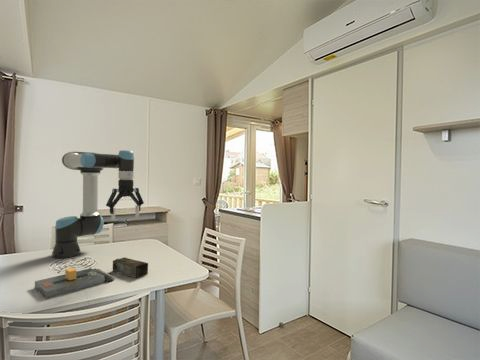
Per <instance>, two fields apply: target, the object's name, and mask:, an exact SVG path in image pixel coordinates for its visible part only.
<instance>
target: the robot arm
mask: <svg viewBox="0 0 480 360" xmlns="http://www.w3.org/2000/svg"><path fill="white" fill-rule="evenodd" d="M134 154H135V153H134V151H133V150H119V152H118V154H113V153H112V154H111V153H109V154H108V153H99V152H87V151H69V152H67V153H65V154H63V156H62V158H61V163H62V165H63V166H64V167H65V168H66V169H69V170H73V171H80V174H81V175H82V212H81V213H80V215H79V218H78V216H77V215H76V216H75V215H73V216H66V217H60V218H58V219H57V220H56V222H55V225H54V226H55V227H54V228H55V236H54V237H55V243H54V247H53V249H52V253H51V257H52V258H53V259H69V258H73V257H77V256H79V255H81V247H80V245H79V243H78V238H79V237H85V236H90V235H91V236H93V235H97V234H100V233H101V232H102V231H103V228H104V224H105V223H104V218H103V216H101V213H99V212H98V202H99V201H98V199H99V198H98V197H99V196H98V194H99V192H98V191H99V189H98V188H99V185H98V184H99V181H98V179H99V177H98V176H99V175H100V174H101V172H102V171H104V169H118V177H117V178H118V179H117V180H118V188H112V192H111V194H110V196H109V198H108V200H107V202H106V204H105V206H106V207H107V208H109V214H110V215H111V217H110V218H111V219H110V220H111V221H115V220H116V205H117V204H118V202H119V201H120V200H121V199H122V198H123V197H124V198H125V197H130V198H131V200H133V202H134V203H135V204H136V205H135V206H134V208H135V209H134V210H135V214H134V215H135V216H134V217H135V218H140V212H141V206H142V205H143V204H144V203H145V202H144V200H143V197H142V195H141V193H140V190H139V188H138V187H134V180H133V179H134V165H135V157H134V156H135V155H134ZM133 192H134V193H133Z"/></svg>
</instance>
